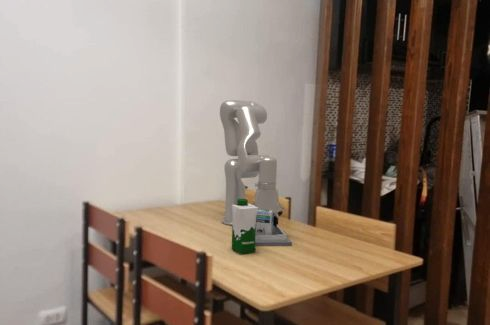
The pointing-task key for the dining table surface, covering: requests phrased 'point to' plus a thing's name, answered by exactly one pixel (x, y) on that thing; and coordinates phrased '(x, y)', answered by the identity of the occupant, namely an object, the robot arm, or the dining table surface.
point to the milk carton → (244, 227)
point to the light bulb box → (265, 222)
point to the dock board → (274, 242)
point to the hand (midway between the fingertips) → (265, 225)
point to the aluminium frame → (273, 236)
